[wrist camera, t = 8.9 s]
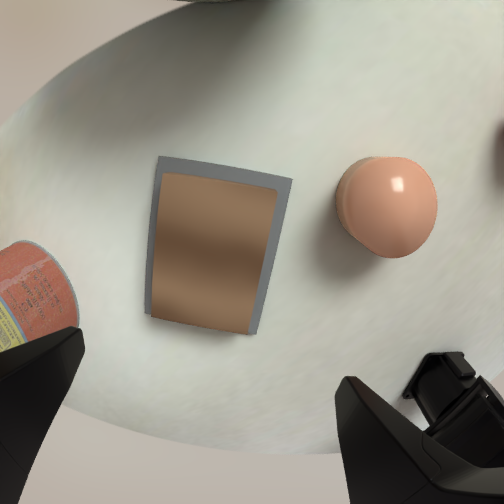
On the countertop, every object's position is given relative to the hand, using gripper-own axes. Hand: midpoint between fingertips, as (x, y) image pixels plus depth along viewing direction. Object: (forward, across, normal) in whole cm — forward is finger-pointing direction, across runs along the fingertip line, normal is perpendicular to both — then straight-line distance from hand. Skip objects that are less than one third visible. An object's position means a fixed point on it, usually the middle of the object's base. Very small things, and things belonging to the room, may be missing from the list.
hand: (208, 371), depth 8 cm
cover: (+12, +1, 0) cm, 12 cm away
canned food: (+12, +18, +8) cm, 24 cm away
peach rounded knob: (+12, -10, -6) cm, 17 cm away
